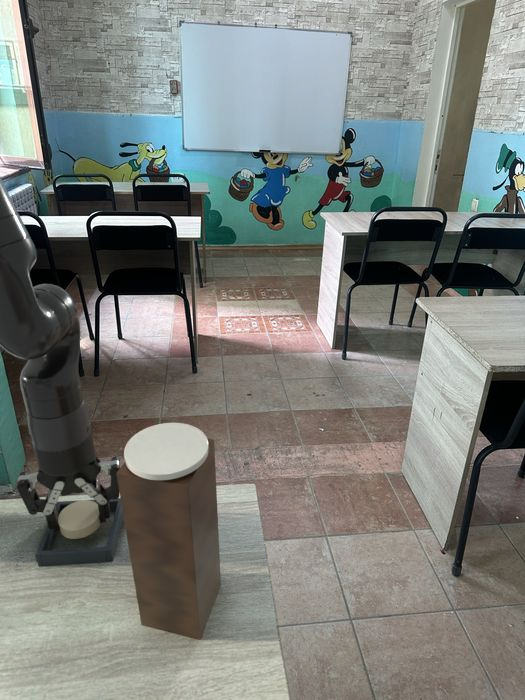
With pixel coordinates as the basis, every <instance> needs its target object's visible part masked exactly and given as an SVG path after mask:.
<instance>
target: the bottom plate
mask: <svg viewBox="0 0 525 700" xmlns="http://www.w3.org/2000/svg"><path fill="white" fill-rule="evenodd" d="M207 438H208V437H207V435H206V434H205V433H204V432H203V431H202V430H201V429H199V428H198V427H196V426H193V425H191V424H188V423H183V422H163V423H158V424H154V425H151V426H148V427H146V428H144V429H141V430H140V431H138V432H137V433H136V434H134V435H132V437H131V438H130V439H129V440H128V441H127V443H126V444H125V446H124V450H123V457H124V463H126V465H127V467H128V469H129V470H130V471H131V472H133V473H134V474H135V475H137V476H139V477H142V478H145V479H149V480H170V479H175V478H179V477H182V476H185V475H187V474H189V473H191V472H193V471H195V470H196V469H197V468H199V467H200V466H201V465H202V464H203V463H204V461H205V460H206V458H207V456H208V452H209V444H208V439H209V438H208V439H207Z"/></svg>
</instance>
